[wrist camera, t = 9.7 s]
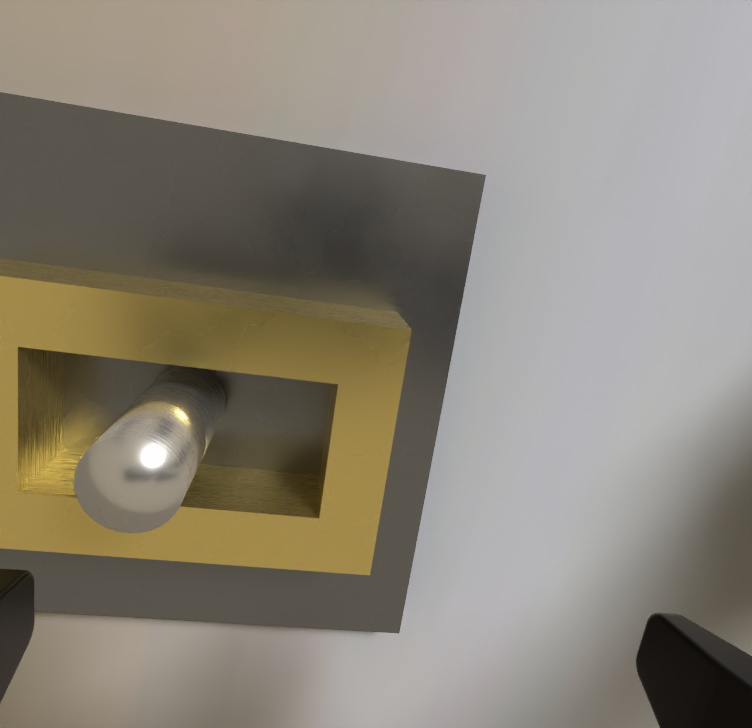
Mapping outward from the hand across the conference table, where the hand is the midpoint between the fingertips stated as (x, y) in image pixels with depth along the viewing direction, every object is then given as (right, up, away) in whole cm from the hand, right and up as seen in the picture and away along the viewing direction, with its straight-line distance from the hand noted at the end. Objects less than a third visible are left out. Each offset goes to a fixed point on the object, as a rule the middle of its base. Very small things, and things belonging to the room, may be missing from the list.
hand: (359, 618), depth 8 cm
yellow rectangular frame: (-5, +3, +7) cm, 9 cm away
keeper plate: (-5, +3, +8) cm, 10 cm away
